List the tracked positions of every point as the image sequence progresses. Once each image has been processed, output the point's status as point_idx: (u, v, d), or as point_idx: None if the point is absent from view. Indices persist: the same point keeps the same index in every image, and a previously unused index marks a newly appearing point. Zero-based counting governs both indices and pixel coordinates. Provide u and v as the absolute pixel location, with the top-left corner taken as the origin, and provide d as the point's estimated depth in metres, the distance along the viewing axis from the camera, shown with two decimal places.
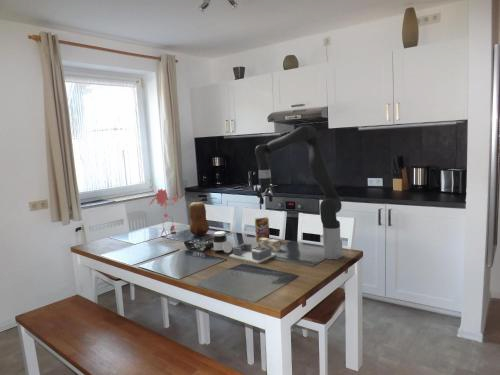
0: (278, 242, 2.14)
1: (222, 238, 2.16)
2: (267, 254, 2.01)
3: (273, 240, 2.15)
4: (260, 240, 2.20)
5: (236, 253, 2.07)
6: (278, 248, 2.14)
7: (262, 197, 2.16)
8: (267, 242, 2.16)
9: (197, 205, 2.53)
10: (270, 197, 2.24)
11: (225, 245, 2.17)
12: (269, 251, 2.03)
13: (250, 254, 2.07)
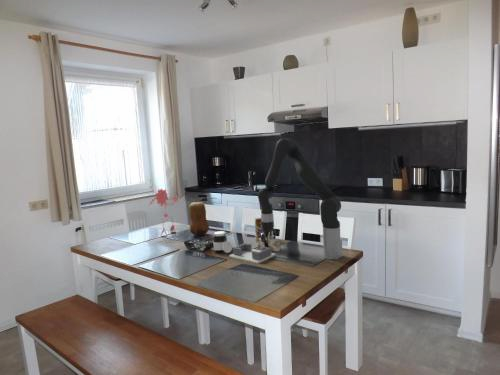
0: (279, 241, 2.14)
1: (222, 238, 2.16)
2: (267, 254, 2.01)
3: (273, 240, 2.16)
4: (260, 240, 2.19)
5: (236, 253, 2.07)
6: (279, 247, 2.15)
7: (267, 242, 2.15)
8: (268, 242, 2.16)
9: (197, 205, 2.53)
10: None
11: (225, 245, 2.17)
12: (269, 251, 2.03)
13: (250, 254, 2.07)
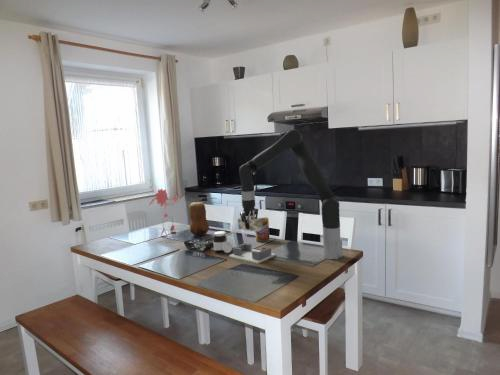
0: (260, 221, 2.00)
1: (222, 238, 2.16)
2: (267, 254, 2.01)
3: (255, 219, 2.02)
4: (240, 220, 2.05)
5: (236, 253, 2.07)
6: (260, 228, 2.01)
7: (247, 222, 2.01)
8: None
9: (197, 205, 2.53)
10: None
11: (225, 245, 2.17)
12: (269, 251, 2.03)
13: (250, 254, 2.07)
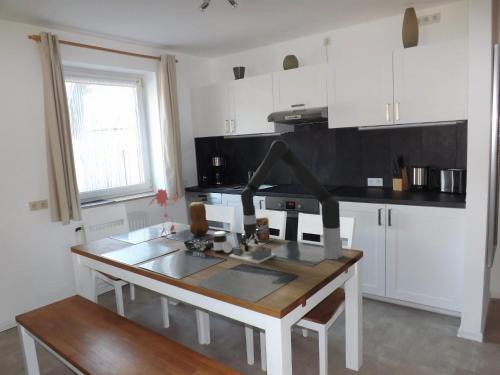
0: (261, 247, 2.02)
1: (222, 238, 2.16)
2: (267, 254, 2.01)
3: (256, 245, 2.04)
4: (242, 245, 2.07)
5: (236, 253, 2.07)
6: None
7: (247, 244, 2.01)
8: (250, 248, 2.04)
9: (197, 205, 2.53)
10: (256, 243, 2.09)
11: (225, 245, 2.17)
12: (269, 251, 2.03)
13: None
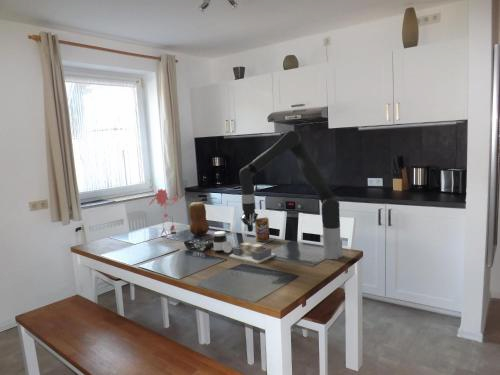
0: (261, 247, 2.02)
1: (222, 238, 2.16)
2: (267, 254, 2.01)
3: (256, 245, 2.04)
4: (242, 245, 2.07)
5: (236, 253, 2.07)
6: None
7: (250, 225, 2.03)
8: (250, 248, 2.04)
9: (197, 205, 2.53)
10: None
11: (225, 245, 2.17)
12: (269, 251, 2.03)
13: None
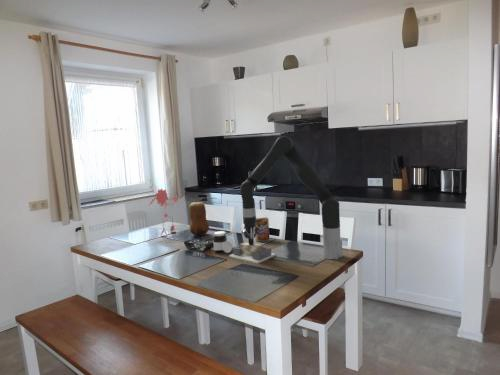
0: (261, 247, 2.02)
1: (222, 238, 2.16)
2: (267, 254, 2.01)
3: (256, 245, 2.04)
4: (242, 245, 2.07)
5: (236, 253, 2.07)
6: None
7: (251, 238, 2.04)
8: (250, 248, 2.04)
9: (197, 205, 2.53)
10: None
11: (225, 245, 2.17)
12: (269, 251, 2.03)
13: None
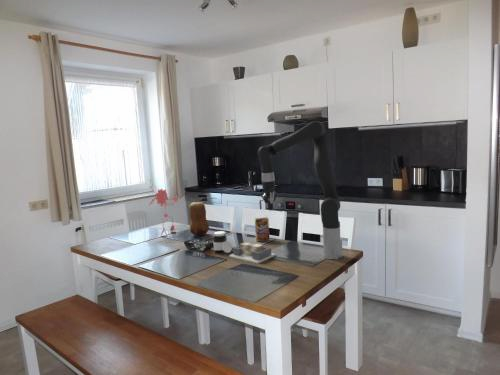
0: (261, 247, 2.02)
1: (222, 238, 2.16)
2: (267, 254, 2.01)
3: (256, 245, 2.04)
4: (242, 245, 2.07)
5: (236, 253, 2.07)
6: None
7: (270, 203, 2.06)
8: (250, 248, 2.04)
9: (197, 205, 2.53)
10: None
11: (225, 245, 2.17)
12: (269, 251, 2.03)
13: None
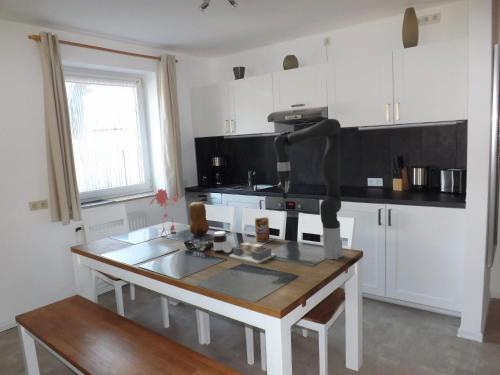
0: (261, 247, 2.02)
1: (222, 238, 2.16)
2: (267, 254, 2.01)
3: (256, 245, 2.04)
4: (242, 245, 2.07)
5: (236, 253, 2.07)
6: None
7: (285, 192, 2.10)
8: (250, 248, 2.04)
9: (197, 205, 2.53)
10: None
11: (225, 245, 2.17)
12: (269, 251, 2.03)
13: None
